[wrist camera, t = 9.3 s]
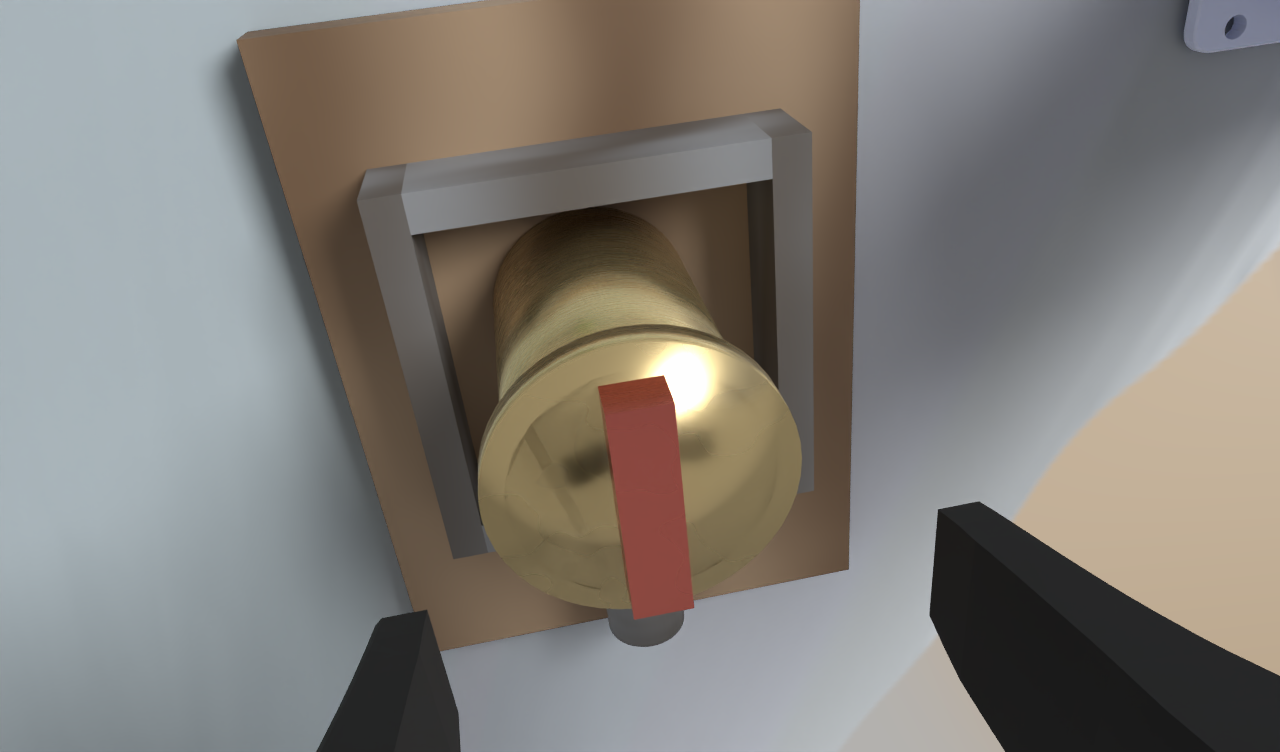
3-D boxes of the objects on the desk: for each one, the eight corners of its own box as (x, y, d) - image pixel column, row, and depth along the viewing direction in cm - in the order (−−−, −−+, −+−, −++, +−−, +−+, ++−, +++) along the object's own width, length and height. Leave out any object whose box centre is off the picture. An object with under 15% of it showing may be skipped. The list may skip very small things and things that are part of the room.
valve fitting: (697, 171, 19) (818, 340, 13) (711, 379, 22) (818, 609, 15) (452, 208, 19) (445, 405, 12) (497, 416, 21) (511, 670, 15)
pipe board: (842, -47, 19) (903, -34, 16) (836, 546, 27) (876, 619, 24) (247, 31, 17) (210, 59, 15) (428, 627, 25) (424, 713, 23)
